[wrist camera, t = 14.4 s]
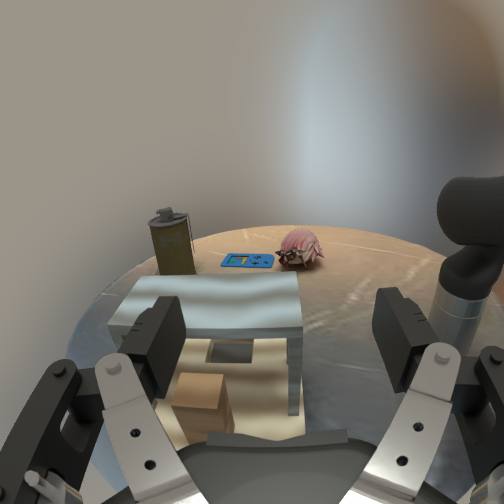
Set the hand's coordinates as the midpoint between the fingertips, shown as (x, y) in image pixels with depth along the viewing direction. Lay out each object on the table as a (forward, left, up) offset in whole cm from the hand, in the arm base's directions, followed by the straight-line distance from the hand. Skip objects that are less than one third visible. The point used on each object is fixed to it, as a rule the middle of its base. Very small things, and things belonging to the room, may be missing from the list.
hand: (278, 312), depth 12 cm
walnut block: (-5, -13, -29) cm, 32 cm away
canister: (-39, -55, -32) cm, 75 cm away
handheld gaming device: (-56, -43, -33) cm, 78 cm away
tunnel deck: (-13, -18, -32) cm, 39 cm away
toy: (-59, -27, -32) cm, 73 cm away
